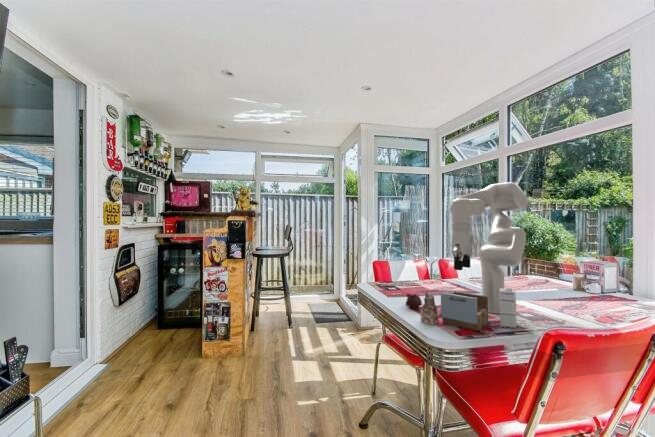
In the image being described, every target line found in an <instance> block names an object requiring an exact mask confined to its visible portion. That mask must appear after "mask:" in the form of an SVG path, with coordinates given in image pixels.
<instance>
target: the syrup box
mask: <svg viewBox="0 0 655 437" xmlns="http://www.w3.org/2000/svg"><path fill="white" fill-rule="evenodd" d="M499 296H500V314H499V319H500V321H499V324H500V326H503V327H506V328H507V327H508V328H513V329H514V328H515V329H517V300H516V299H517V298H516V296H517V295H516V289H513V288H500V290H499Z"/></svg>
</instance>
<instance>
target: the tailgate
mask: <svg viewBox="0 0 655 437" xmlns="http://www.w3.org/2000/svg"><path fill="white" fill-rule="evenodd" d="M440 317H441V318H443V317H445V318H450V319H454V320H459V321H463V322H468V323H473V324H478V317H477V298H473V297H467V296H461V295H455V294H454V293H449V292H440Z"/></svg>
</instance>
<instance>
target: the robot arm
mask: <svg viewBox="0 0 655 437" xmlns="http://www.w3.org/2000/svg"><path fill="white" fill-rule="evenodd" d="M528 203H529V200H528V197H527V195H526V194H525V192H524V191H523V190H522V189H521V187H520V186H519V185H518V184H517V183H514V182H511V181H509V182H499V183H493V184H489V185H488V186H486V187H484V188H483V189H480V190H478V191H474V192H470V193H468V194H464V195H462V196H459V197H457V198H455V199H453V200H452V201H451V203H450V206H449V212H450V214H451V230H452V236H451V254H452V255H453V256H452V257H453V269H454V270H455V271H463V268H471V250H472V246H471V245H472V242H471V232H472V229H473V228H472V223H473V222H472V217H479V216H481V215H483V214H484V213H485V211H486V208H489V210H490V213H491V216H492V221H491V226H490V229H489V232H488V236H487V241H488V243H489V244H485V245H483V246H481V247H480V249H479V252H478V256H479V259H480V265H481V267H480V268H481V292H482V293H481V295H483V296H488V314H498V315H500V296H499V290H500V288H505V273H504V270H503V269H502V268H501V266H503V267H505V266H506V267H518V266H519V265H520V263H521V261H522V258H523V254H524V251H525V246H526V241H527V234H526V232H525V230H524V229H523V228H521V227H518V226H516V227H515V226H513V225H512V224H513V220H512V219H511V217H510V215H508V214H506V212H510V211H511V212H513V211H515V212H516V211H523V210H525V209H527V207H528ZM505 289H506V288H505Z"/></svg>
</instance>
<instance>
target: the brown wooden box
mask: <svg viewBox="0 0 655 437" xmlns="http://www.w3.org/2000/svg"><path fill="white" fill-rule="evenodd" d="M453 294H455V295H461V296H467V297H473V298H477V317H478V324H473V323H468V322H463V321H459V320H454V319H450V318H445V317H442V324H445V325H450V326H455V327H458V328H463V329H467V328H468V329H467V330H471V329H473V330H472V331H476V330H477V331H476V332H479V331H480V330H481V329H482V328H483V327H484V326H486V325H487V324H488V323H489V312H488V296H483V295H482V294H475V293H468V292H462V291H453ZM478 330H479V331H478Z"/></svg>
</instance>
